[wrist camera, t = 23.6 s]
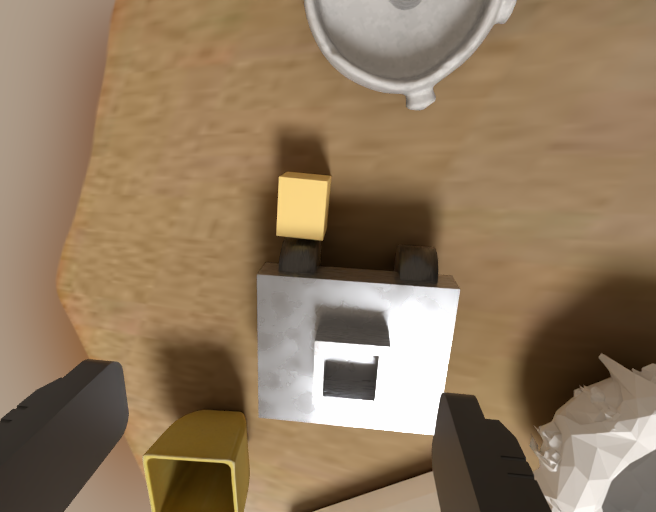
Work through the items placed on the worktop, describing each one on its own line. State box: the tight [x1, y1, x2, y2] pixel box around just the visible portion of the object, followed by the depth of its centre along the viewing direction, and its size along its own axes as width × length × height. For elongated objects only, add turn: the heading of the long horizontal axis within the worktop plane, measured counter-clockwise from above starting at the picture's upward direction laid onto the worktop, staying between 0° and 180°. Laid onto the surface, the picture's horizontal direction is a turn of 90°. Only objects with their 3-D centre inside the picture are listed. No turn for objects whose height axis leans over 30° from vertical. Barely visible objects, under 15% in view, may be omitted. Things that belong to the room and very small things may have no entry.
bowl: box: [530, 353, 656, 512], centre depth 36 cm, size 21×20×10 cm
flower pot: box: [143, 410, 250, 512], centre depth 42 cm, size 9×9×9 cm
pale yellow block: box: [276, 172, 331, 241], centre depth 35 cm, size 4×5×4 cm
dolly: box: [257, 237, 460, 435], centre depth 36 cm, size 16×18×10 cm
